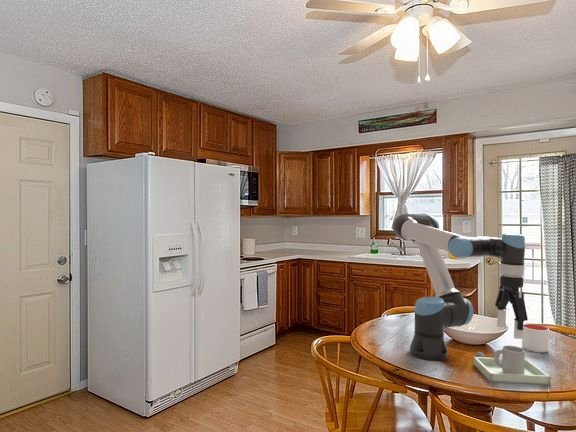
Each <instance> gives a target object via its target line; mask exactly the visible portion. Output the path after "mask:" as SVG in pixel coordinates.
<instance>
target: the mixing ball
mask: <svg viewBox="0 0 576 432" xmlns="http://www.w3.org/2000/svg"><path fill="white" fill-rule="evenodd" d="M474 357H486V355H485V354H484V352H482V351H479V352H476V353H475V355H474Z"/></svg>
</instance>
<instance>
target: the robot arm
mask: <svg viewBox="0 0 576 432" xmlns="http://www.w3.org/2000/svg"><path fill="white" fill-rule="evenodd" d="M392 231H393V233H394V234H395V235H396V236H397V237H398V238H401V239H404V240H406V241H410V240H411V241H412V242H413V246H416V247H417V248H418V251H419V252H420V255H421V256H420V257H421V258H422V261H423V263H424V267H425V269H426V272H427V274H428V277H429V280H430V282H431V285H432V287H433V290H434V293H435V296H423V297H420V298H418V299H416V301H415V305H414V333H413V337H412V340H411V343H410V345H409V353H410V354H411V355H412V356H413V357H415V358H418V359H420V360H421V359H422V360H426V361H434V362H435V361H444V360H447V359H448V357H449V350H448V347H447V344H446V341H445V337H444V336H445V334H444V333H445V329H447V328H454V327H462V326H465V325H468V324H469V323H470V322H471V321H472V319H473V317H474V306H473V304H472V302H471V301H470V300H469V299H467V298H465V297H463V295H462V292H461V291H460V290H458V289H456V288H455V285H454V282H453V280H452V277H451V274H450V272H449V270H448V267H447V264H446V262H445V259H444V257H443V255H442V252H441V250H443V251H445V252H449V253H450V255H451V256H452V257H455V258H461V259H462V258H463V259H464V258H475V257H476V258H477V257H480V258H481V257H492V258H500V266H499V267H500V269H499V272H500V276H499V288H498V289H499V290H498V293H497V296H496V297H497V298H496V300H495V304H494V305H495V307H496V309H497V322H496V323H497V326H496V327H498V328H506V321H507V319H506V318H507V306H508V304H511V306H512V310H513V314H514V317H515V318H514V327H513V338H514V339H519V340H522V339H523V325H524V324H525V323H524V322H525V321H528V313H527V309H526V302H525V293H524V292H522V291H520V290H519V289H520V288H521V289H522V288H523V287H524V280H525V279H524V277H523V276H524V271H525V251H526V238H525V235H523V234H521V233H519V234H518V233H503V234H502V235H501V237H491V236H485V235H484V236H483V235H481V236H479V235H478V236H476V237H474V236H473V237H470V236H469V237H467V236H464V235H460V234H456V233H453V232H449V231H446V230H443V229H440V225H439V221H438V219H436V218H435V217H434V216H433V215H431V214H426V213H420V214H417V213H415V214H414V213H401V214H400V215H398V216H397V217H396V218H395V219H394V220H393V222H392Z"/></svg>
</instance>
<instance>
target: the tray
mask: <svg viewBox="0 0 576 432" xmlns="http://www.w3.org/2000/svg"><path fill="white" fill-rule="evenodd" d="M499 362H500V363H502V357H499ZM473 366H474V367H475V368H476V369H477V370H478V371H479V372H480V373H482V375H483V376H484V377H485V378H486V379H487V380H488V381H489V382H490V383H500V384H501V383H502V384H503V383H504V384H520V385H521V384H523V385H537V384H542V385H541V386H551V380H552V379H551V375H549V374H548V373H546V372H545V371H543V370H542V369H541V368H539V367H538V366H537V365H536V364H534V363H533V362H531V361H530V360H529V359H525V364H524V374H507V373H504V372H503V371H502V368H500V367H498V366H497V365H496V364H495V362H494V357H486V356H485V357H475V356H473Z"/></svg>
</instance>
